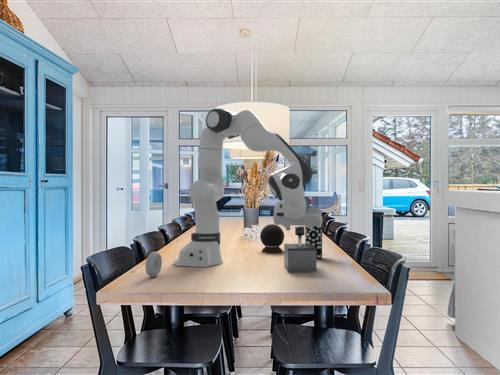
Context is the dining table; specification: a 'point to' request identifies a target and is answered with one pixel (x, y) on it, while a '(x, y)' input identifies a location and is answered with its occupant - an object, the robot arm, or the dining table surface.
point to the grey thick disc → (153, 264)
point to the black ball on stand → (272, 238)
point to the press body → (300, 258)
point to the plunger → (299, 234)
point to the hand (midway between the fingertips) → (299, 229)
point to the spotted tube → (314, 239)
